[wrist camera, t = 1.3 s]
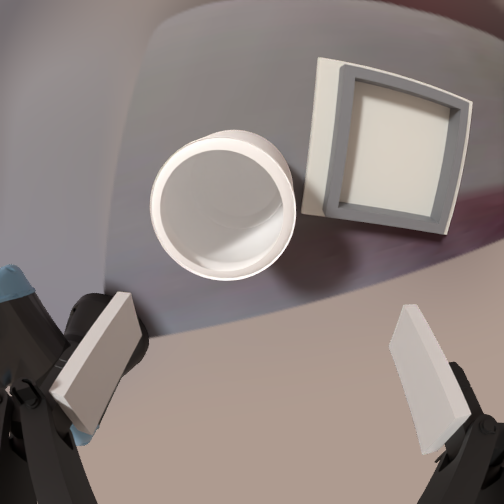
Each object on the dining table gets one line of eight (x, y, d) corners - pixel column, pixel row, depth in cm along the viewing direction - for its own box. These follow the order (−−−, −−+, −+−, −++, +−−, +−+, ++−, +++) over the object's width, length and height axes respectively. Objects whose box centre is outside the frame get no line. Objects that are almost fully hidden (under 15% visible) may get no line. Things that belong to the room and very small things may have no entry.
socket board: (300, 210, 35) (303, 221, 31) (317, 59, 27) (322, 52, 23) (442, 231, 34) (455, 242, 31) (467, 101, 26) (483, 102, 22)
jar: (277, 222, 36) (275, 294, 22) (194, 205, 36) (145, 264, 22) (299, 136, 31) (315, 155, 18) (208, 118, 31) (156, 125, 17)
